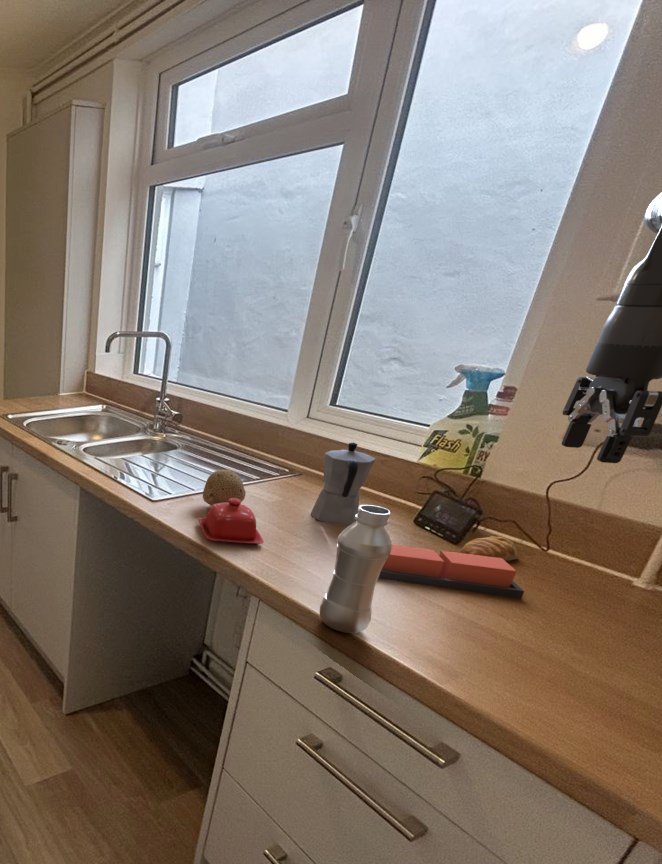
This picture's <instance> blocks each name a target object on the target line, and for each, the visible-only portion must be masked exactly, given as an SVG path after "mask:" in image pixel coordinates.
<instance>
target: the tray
mask: <svg viewBox="0 0 662 864" xmlns="http://www.w3.org/2000/svg"><path fill="white" fill-rule="evenodd" d="M378 580H385V581H386V580H387V581H391V582H400V583H406V584H413V585H418V586H419V585H421V586H427V587H433V588H440V589H441V588H442V589H447V590H453V591H460V592H461V591H462V592H467V593H474V594H482V595H488V596H495V597H501V598H502V597H503V598H509V599H514V600H515V599H516V600H521V599H522V598H523V596H524V593H525V591H524V590H523V589H522V588H521V587H520V586H519V585H518V584H517V583H516V582H515V581H514V580H513V581H512V583H511V586H510V588H509V587H502V586H495V585H488V584H481V583H474V582H467V581H459V580H452V579H445V578H441V577H440V576H439V578H438V577H431V576H424V575H417V574H410V573H403V572H396V571H388V570H381V572H380V575H379V577H378Z"/></svg>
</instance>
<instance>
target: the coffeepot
mask: <svg viewBox="0 0 662 864" xmlns="http://www.w3.org/2000/svg"><path fill="white" fill-rule="evenodd" d="M357 447H358V443H356V442H349V443H348V449H337V450H336V449H335V450H334V449H331V450H329V451H327V452H325V453H324V464H323V476H322V477H323V478H322V481H323V482H324V484H323V485H324V486H323V488H322V489H321V490H320V492H319V494H318V496H317V499H316V501H315V504H314V505H313V508H312V509H311V512H310V514H311V516H312V517H313V518H314V519H315V520H317V521H318V522H322V523H325V524H330V525H339V526H347V527H348V526H350V525H351V524H353V523H355V522H356V521H357V520H356V519H355V516H356V514H357V512H358V509H359V507H360V495H359V492H360V489H361V488H362V487H363V486H364V484H365V481H366V480H367V478H368V476H369V474H370V471H371V469H372V468H373V465H374V463H375V461H376V458H375V457H373V456H371V455H369V454H368V453H364V452H360V451H357V450H356V449H357Z"/></svg>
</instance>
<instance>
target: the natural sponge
mask: <svg viewBox="0 0 662 864" xmlns="http://www.w3.org/2000/svg"><path fill="white" fill-rule="evenodd" d="M245 489H246V488H245V486H244V482H243V480H242V478H241V477H240V475H239V474H238V473H237V472H235V471H234V470H231V469H218V470H215V471H213V472H212V473H211V474H210V475H209V476H208V477H207V480H206V482H205V484H204V487H203V490H202V500H203V501H204V502H205V503H206V504H208V505H209V506H210V507H211V506H212V505H213V504H217V503H229V502H228V500H229V499H230V498H237V499H239V500H240V501H241V503H242V502H243V501H244V500H245V497H246V493H247V492H246V490H245Z"/></svg>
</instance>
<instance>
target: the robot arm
mask: <svg viewBox="0 0 662 864" xmlns="http://www.w3.org/2000/svg"><path fill="white" fill-rule="evenodd" d="M643 219H644V220H643V221H644V225H645V227H646V228H647V230H648V231H649V232H650V233H652V234H654V235H656V236H655V239H654V240H653V243H652V244H651V247H650V248H649V250H648V253H647V254H646V256H645V257H644V258H643V259H642V260H640V261H639V262H638V263H636V264H635V265H634V266H633V267H632V268H631V270H630V272H629V273H628V274H627V277H626V279H625V281H624V283H623V284H622V285H623V286H622V288H621V290H620V292H619V294H618V298H617V299H616V301H615V305H614V307H613V309H612V310H611V312H610V314H609V316H608V317H607V319H606V320H605V323H604V324H603V327H602V330H601V332H600V334H599V337H598V339H597V341H596V344H595V346H594V349H593V351H592V354H591V355H590V358H589V361H588V363H587V364H586V365H587V366H586V367H585V373H587V374H588V375H591V376H579V377H578V378H577V379H576V381H575V383H574V386H573V388H572V390H571V392H570V394H569V397H568V399H567V400H566V403H565V405H564V408H563V410H562V415H563V416H568V417H567V421H568V422H569V425H568V427H567V429H566V432H564V433H565V434H564V436H563V438H562V440H561V446H563V447H565V448H574V449H576V448H577V449H579V448H582V447H583V445H584V443H585V441H586V438H587V436H588V434H589V431H590V430H591V427H592V424H591V423H593V421H595V420H596V419H597V418H598V417H599V416H602V420H603V422H605V423H606V424H607V431H608V435H606V437H605V439H604V442H603V444H602V445H601V448H600V450H599V452H598V455H597V456H596V460H597V461H598V462H601V463H606V464H607V463H608V464H619V463H620V462H621V461H622V459H623V457H624V455H625V453H626V450H627V449H628V446H629V445H630V442H631V440H632V439H634V438H637V437H649V435H650V434H651V432H652V430H653V427H654V426H655V423H656V421H657V418H658V416H659V413H660V412H661V409H662V391H661V390H649V389H648V388H649V384H650V382H651V381H653V380H659V379H662V192H660V193H659V194H658V195H657V196H656V197H655V198H654V199H653V200H652V201H651V202H650V203H649V205H648V206H647V208H646V210H645V213H644V218H643ZM641 420H643V421H642V422H641V425H640V426H639V421H641ZM620 424H621V426H620Z"/></svg>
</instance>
